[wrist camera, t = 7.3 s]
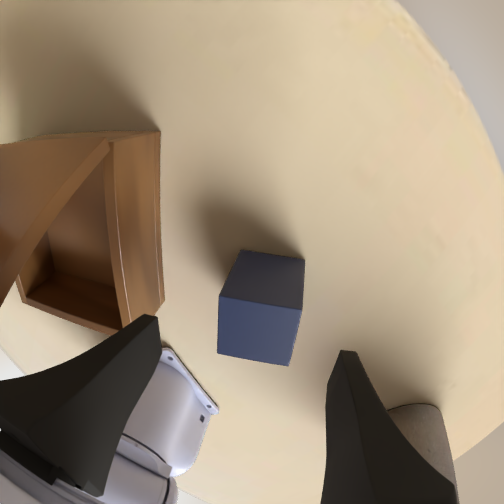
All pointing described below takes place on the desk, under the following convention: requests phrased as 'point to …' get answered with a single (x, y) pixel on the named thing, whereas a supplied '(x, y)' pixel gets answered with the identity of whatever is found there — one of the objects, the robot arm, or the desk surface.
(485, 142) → the desk surface
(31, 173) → the lid
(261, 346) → the block
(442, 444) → the pillar candle
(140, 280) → the wooden box
